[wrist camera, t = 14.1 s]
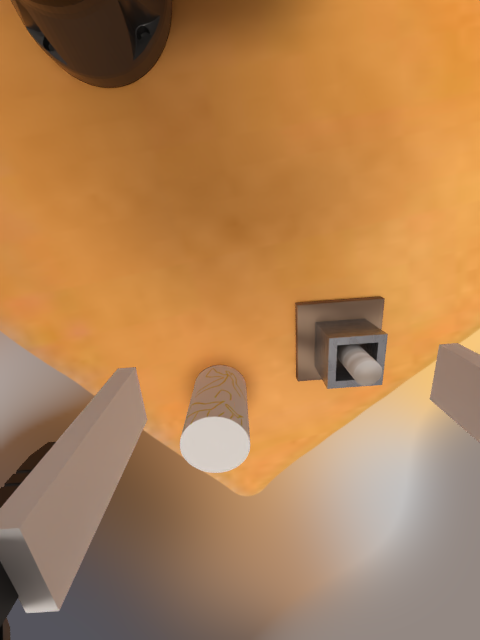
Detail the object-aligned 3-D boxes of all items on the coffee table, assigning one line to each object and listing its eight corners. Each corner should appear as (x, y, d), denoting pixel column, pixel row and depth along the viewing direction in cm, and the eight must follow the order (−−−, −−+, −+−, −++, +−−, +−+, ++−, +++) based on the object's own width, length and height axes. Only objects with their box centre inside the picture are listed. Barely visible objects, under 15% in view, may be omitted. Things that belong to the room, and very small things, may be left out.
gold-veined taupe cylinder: (247, 365, 41) (251, 416, 30) (245, 410, 44) (248, 472, 33) (193, 364, 41) (178, 416, 30) (195, 409, 44) (181, 472, 33)
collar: (315, 322, 38) (329, 338, 32) (364, 318, 38) (387, 334, 32) (314, 366, 40) (327, 388, 35) (361, 362, 40) (382, 384, 35)
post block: (295, 303, 38) (315, 327, 29) (380, 296, 38) (428, 319, 29) (296, 377, 42) (314, 420, 33) (373, 371, 42) (414, 413, 32)
